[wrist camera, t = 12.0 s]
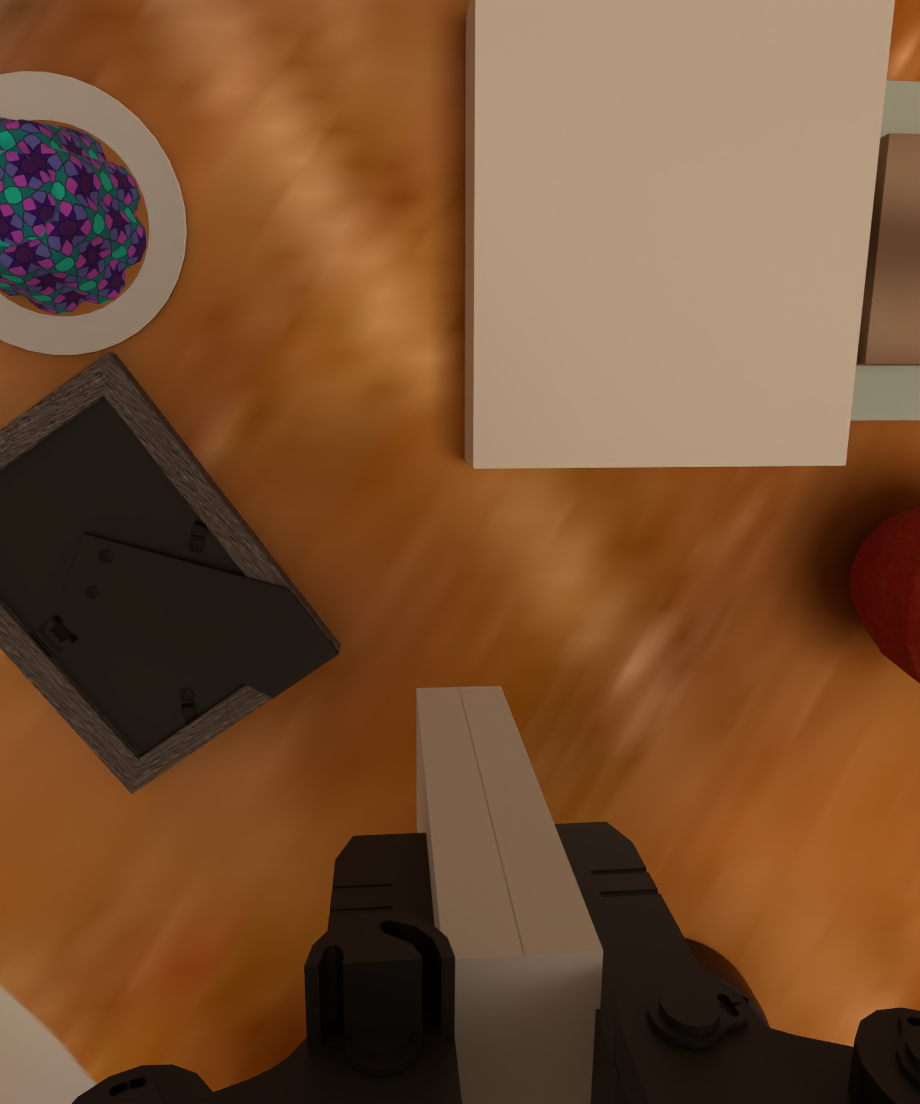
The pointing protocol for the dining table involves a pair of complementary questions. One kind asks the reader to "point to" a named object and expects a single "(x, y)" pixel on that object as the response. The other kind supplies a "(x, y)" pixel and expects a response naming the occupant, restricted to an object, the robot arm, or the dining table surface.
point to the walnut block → (893, 259)
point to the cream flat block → (667, 228)
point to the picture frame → (138, 580)
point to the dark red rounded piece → (891, 588)
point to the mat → (891, 386)
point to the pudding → (81, 216)
